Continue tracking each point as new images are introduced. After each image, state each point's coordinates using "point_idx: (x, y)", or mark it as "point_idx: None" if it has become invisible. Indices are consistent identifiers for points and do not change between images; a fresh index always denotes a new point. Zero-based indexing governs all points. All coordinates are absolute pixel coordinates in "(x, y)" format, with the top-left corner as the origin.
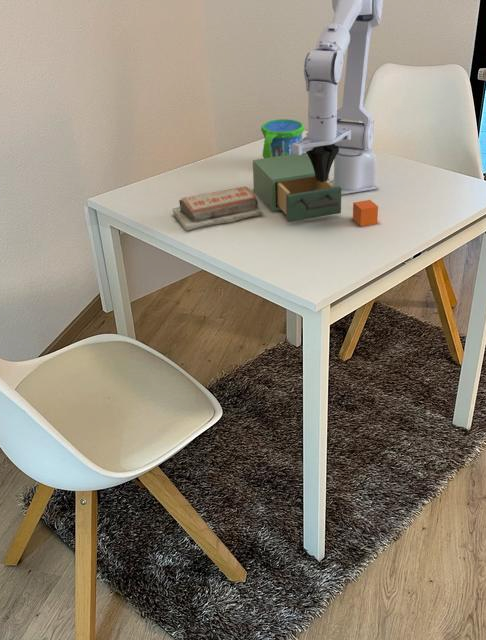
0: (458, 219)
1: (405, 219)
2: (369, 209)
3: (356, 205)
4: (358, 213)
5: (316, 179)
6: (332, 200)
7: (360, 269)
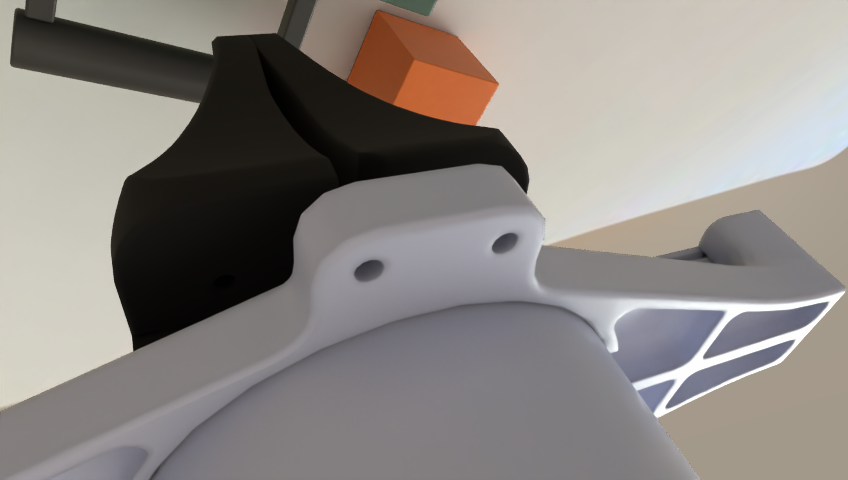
0: (603, 223)
1: (521, 143)
2: None
3: (394, 98)
4: None
5: (212, 48)
6: None
7: (63, 366)
